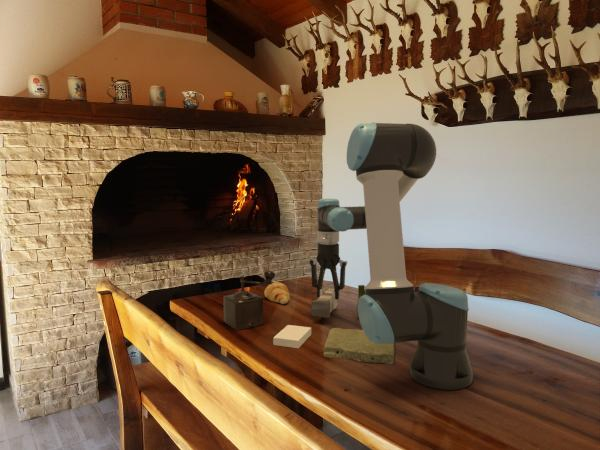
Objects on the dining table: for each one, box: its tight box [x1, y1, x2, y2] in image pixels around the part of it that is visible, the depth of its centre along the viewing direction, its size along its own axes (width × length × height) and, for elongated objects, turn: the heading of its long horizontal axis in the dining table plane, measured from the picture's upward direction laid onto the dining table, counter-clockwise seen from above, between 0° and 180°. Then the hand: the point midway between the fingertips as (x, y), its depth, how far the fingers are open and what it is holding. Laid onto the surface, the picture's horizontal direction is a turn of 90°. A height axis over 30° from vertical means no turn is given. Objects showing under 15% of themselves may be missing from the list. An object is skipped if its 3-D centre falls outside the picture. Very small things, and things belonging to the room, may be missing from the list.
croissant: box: [263, 281, 291, 305], centre depth 184 cm, size 21×10×8 cm, turn 22°
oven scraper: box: [311, 288, 340, 319], centre depth 161 cm, size 18×6×5 cm, turn 161°
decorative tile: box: [323, 327, 396, 365], centre depth 133 cm, size 19×20×4 cm
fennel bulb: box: [356, 284, 367, 318], centre depth 159 cm, size 6×5×12 cm
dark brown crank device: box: [222, 270, 276, 331], centre depth 155 cm, size 16×11×18 cm
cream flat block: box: [272, 324, 312, 349], centre depth 140 cm, size 3×8×12 cm
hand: (328, 307), depth 162 cm, fingers closed on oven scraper, 4 cm apart
